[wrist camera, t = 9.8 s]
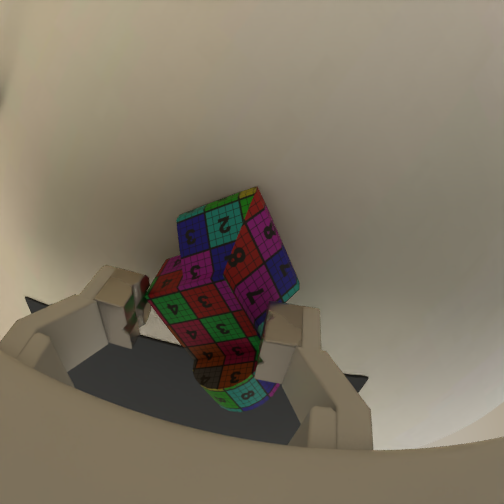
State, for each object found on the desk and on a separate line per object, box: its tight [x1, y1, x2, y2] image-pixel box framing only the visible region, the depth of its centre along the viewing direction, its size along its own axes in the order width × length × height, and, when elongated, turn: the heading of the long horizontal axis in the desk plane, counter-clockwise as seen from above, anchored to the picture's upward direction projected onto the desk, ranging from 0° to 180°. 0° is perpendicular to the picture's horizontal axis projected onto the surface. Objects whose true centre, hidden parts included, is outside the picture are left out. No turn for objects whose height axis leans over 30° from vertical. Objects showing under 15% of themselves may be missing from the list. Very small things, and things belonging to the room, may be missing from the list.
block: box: [144, 186, 299, 412], centre depth 10 cm, size 6×4×3 cm
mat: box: [25, 297, 368, 445], centre depth 19 cm, size 20×14×1 cm
